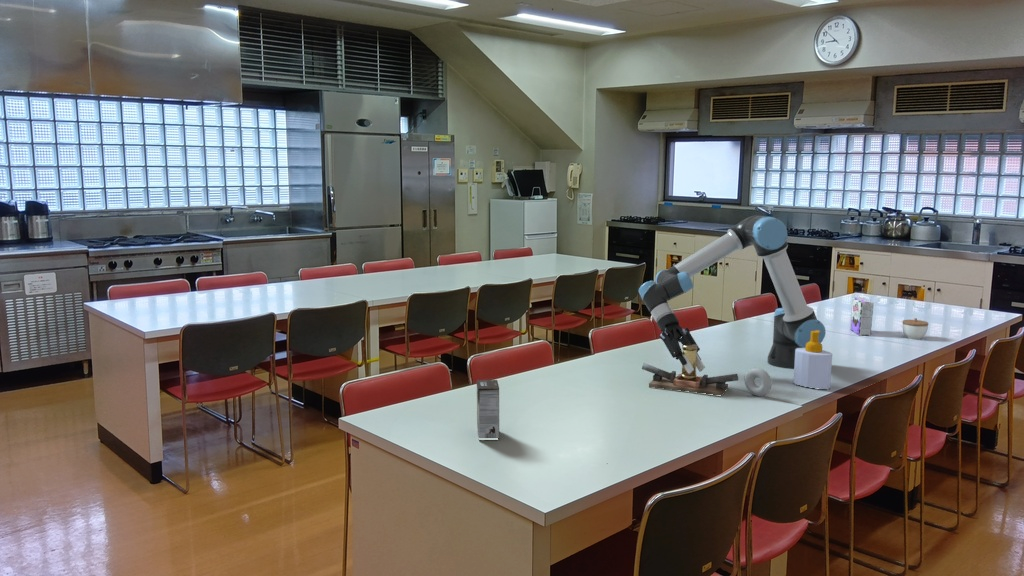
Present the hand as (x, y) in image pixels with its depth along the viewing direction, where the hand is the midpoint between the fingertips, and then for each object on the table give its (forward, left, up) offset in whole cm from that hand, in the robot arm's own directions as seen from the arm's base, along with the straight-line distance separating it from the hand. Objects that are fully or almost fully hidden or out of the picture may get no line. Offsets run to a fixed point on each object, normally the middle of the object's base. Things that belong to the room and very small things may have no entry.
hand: (696, 370), depth 268 cm
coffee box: (+45, +74, -7) cm, 87 cm away
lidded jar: (-73, -130, -8) cm, 149 cm away
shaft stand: (+3, -2, -7) cm, 8 cm away
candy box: (-50, -131, -8) cm, 140 cm away
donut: (-21, -3, -7) cm, 22 cm away
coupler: (+3, -2, -3) cm, 5 cm away
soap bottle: (-37, -24, -7) cm, 44 cm away
